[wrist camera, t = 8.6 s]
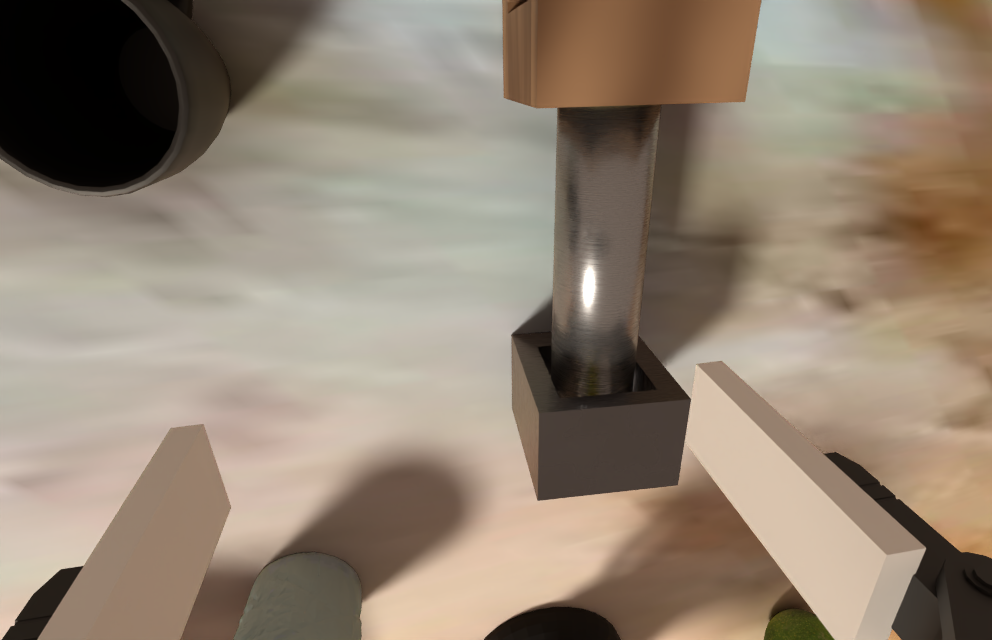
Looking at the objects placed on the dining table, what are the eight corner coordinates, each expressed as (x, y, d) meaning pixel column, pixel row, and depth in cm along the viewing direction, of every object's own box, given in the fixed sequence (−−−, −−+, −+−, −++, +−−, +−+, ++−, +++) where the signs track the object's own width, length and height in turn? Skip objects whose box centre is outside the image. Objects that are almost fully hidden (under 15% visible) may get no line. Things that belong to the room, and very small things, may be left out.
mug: (297, -41, 27) (240, -94, 18) (236, 185, 31) (165, 229, 22) (115, -135, 24) (-50, -247, 16) (74, 122, 28) (-75, 145, 20)
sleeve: (512, 408, 39) (537, 500, 31) (511, 334, 37) (538, 413, 28) (623, 398, 40) (677, 485, 32) (630, 325, 38) (690, 399, 29)
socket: (503, 97, 31) (536, 108, 22) (502, -5, 28) (538, -38, 20) (656, 93, 32) (744, 101, 23) (666, -7, 29) (767, -38, 21)
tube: (615, 383, 37) (643, 427, 32) (541, 389, 36) (559, 435, 32) (643, 55, 28) (686, 52, 24) (547, 57, 28) (573, 54, 23)
